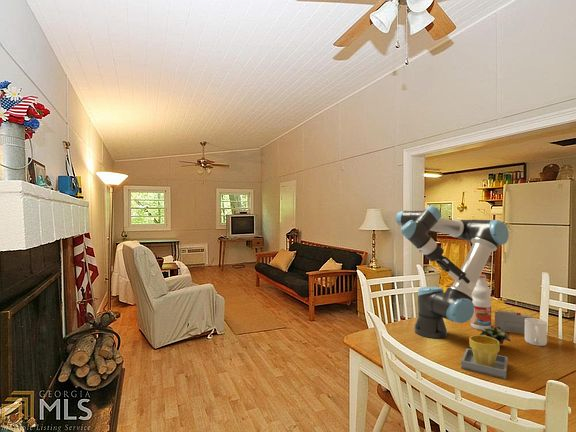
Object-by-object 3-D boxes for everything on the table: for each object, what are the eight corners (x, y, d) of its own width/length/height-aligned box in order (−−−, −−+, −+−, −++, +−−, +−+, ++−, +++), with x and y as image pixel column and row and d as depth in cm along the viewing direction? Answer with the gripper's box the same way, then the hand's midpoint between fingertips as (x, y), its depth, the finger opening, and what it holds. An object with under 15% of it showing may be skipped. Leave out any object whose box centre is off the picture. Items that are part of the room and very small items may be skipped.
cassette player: (531, 333, 165) (531, 313, 165) (532, 335, 163) (532, 315, 162) (494, 328, 172) (494, 309, 172) (495, 330, 170) (495, 311, 169)
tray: (461, 368, 128) (461, 360, 128) (466, 355, 140) (466, 348, 140) (505, 379, 120) (505, 371, 120) (507, 364, 132) (507, 356, 131)
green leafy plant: (495, 356, 151) (512, 336, 150) (499, 361, 142) (517, 340, 140) (472, 338, 156) (488, 319, 155) (474, 342, 146) (492, 321, 145)
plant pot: (464, 358, 135) (464, 334, 135) (489, 358, 135) (489, 334, 135) (478, 370, 125) (478, 344, 125) (505, 370, 125) (505, 344, 125)
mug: (549, 350, 144) (549, 327, 144) (526, 346, 149) (526, 324, 148) (545, 341, 154) (545, 319, 154) (523, 338, 159) (523, 316, 159)
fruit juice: (481, 324, 178) (482, 272, 178) (495, 330, 169) (495, 276, 169) (466, 325, 177) (466, 273, 176) (479, 331, 168) (479, 277, 167)
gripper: (416, 252, 157) (449, 283, 156) (434, 259, 132) (473, 297, 131) (428, 241, 157) (460, 272, 155) (448, 246, 132) (487, 284, 130)
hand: (466, 284), depth 143 cm, fingers open, 13 cm apart
